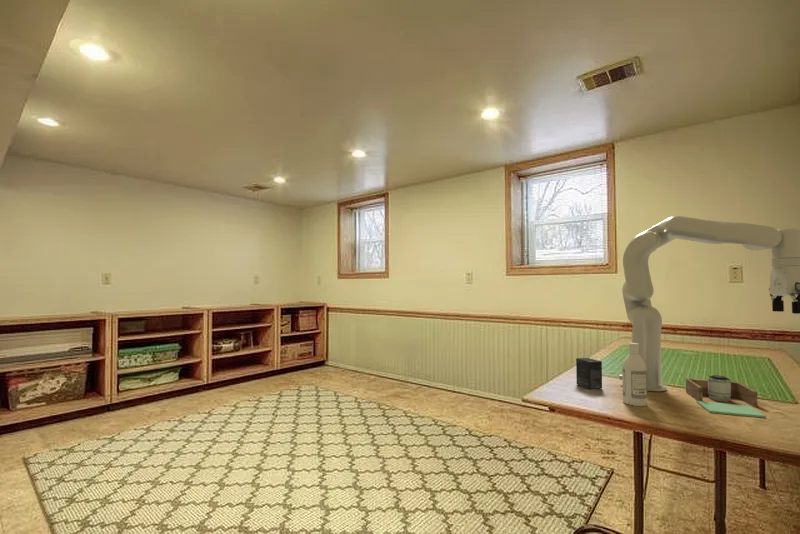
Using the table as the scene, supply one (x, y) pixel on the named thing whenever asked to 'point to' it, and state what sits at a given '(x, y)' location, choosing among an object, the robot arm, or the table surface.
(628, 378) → the bath foam
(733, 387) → the cubby
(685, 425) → the table surface
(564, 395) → the table surface
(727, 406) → the cutting mat
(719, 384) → the camera lens
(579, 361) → the box
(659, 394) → the table surface
